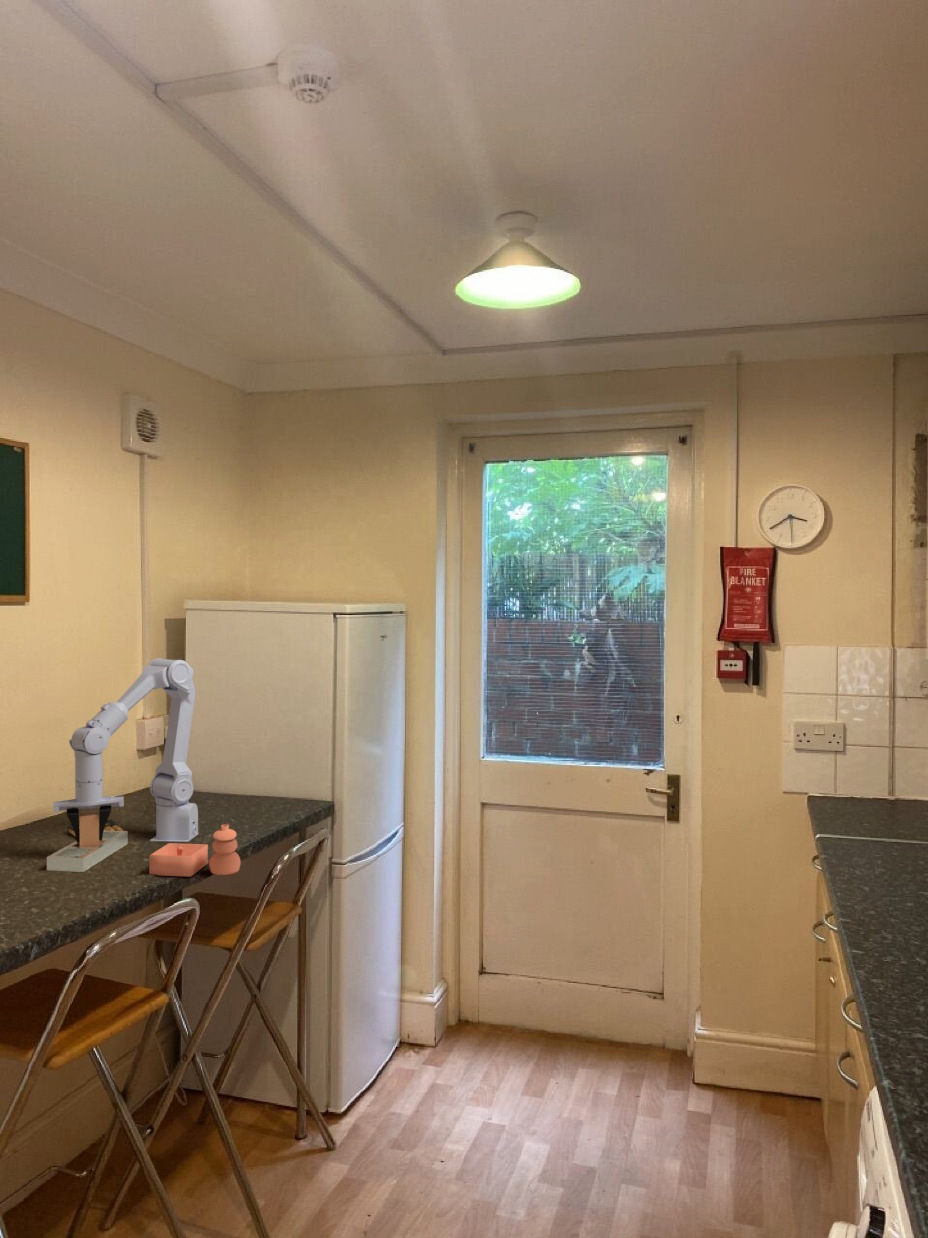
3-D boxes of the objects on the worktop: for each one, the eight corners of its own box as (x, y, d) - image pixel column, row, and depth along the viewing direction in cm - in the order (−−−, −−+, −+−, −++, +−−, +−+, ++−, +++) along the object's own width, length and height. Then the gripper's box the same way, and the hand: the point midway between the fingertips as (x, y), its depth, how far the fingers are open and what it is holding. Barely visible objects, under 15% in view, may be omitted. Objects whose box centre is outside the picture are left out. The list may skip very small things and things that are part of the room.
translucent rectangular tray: (94, 843, 214) (94, 830, 214) (127, 843, 214) (127, 831, 214) (46, 871, 192) (46, 857, 192) (83, 872, 192) (83, 858, 192)
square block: (98, 850, 206) (98, 811, 206) (99, 855, 202) (98, 815, 202) (79, 852, 204) (79, 812, 204) (79, 857, 201) (79, 816, 200)
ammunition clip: (67, 833, 222) (84, 846, 213) (67, 826, 222) (84, 838, 213) (111, 826, 229) (129, 838, 220) (111, 819, 229) (129, 830, 220)
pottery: (149, 875, 191) (149, 829, 191) (168, 862, 200) (168, 818, 200) (231, 878, 189) (231, 831, 189) (247, 865, 198) (247, 820, 198)
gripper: (122, 774, 209) (122, 833, 210) (54, 779, 204) (54, 839, 204) (124, 780, 203) (124, 840, 203) (53, 785, 197) (53, 847, 197)
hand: (89, 840), depth 203 cm, fingers closed on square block, 4 cm apart
